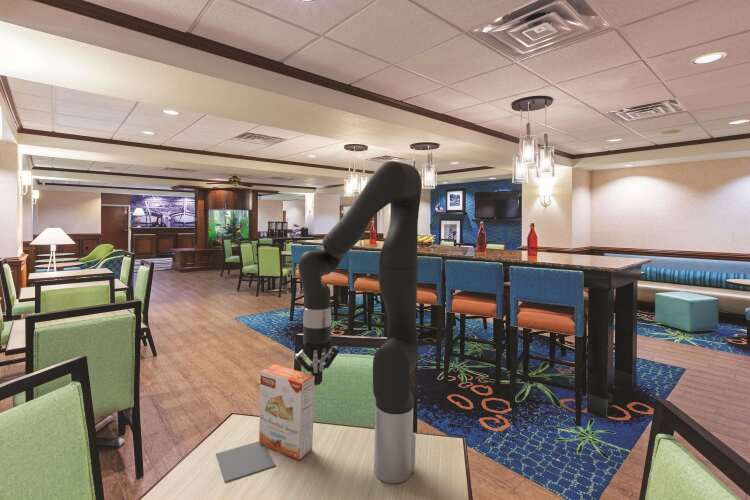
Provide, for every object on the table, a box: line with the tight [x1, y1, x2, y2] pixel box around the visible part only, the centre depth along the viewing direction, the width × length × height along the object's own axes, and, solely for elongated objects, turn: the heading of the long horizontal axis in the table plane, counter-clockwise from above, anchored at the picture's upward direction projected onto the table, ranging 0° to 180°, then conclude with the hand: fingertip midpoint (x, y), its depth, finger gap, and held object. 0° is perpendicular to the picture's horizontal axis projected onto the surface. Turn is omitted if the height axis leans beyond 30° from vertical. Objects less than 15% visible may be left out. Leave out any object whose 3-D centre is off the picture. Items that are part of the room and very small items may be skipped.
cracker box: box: [258, 363, 315, 461], centre depth 103 cm, size 14×6×21 cm, turn 62°
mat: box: [215, 440, 276, 483], centre depth 99 cm, size 12×12×1 cm
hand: (316, 383), depth 107 cm, fingers closed
